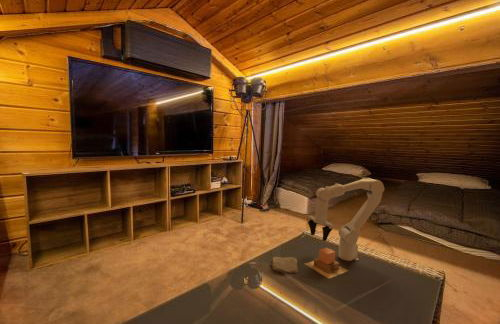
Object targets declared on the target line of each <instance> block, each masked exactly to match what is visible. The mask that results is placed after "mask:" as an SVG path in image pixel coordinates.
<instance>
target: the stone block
mask: <svg viewBox="0 0 500 324" xmlns="http://www.w3.org/2000/svg"><path fill="white" fill-rule="evenodd" d="M271 264H272V265H271V266H272V271H274V272H277V273H283V274H286V275H289V274H297V273H298V272H299V269H298V260H297V259H296V258H295V257H291V256H290V257H289V256H288V257H287V256H285V257H279V256H274V257H273V258H272V260H271Z"/></svg>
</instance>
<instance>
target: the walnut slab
mask: <svg viewBox="0 0 500 324" xmlns="http://www.w3.org/2000/svg"><path fill="white" fill-rule="evenodd" d="M313 261H314V266H316V267H317V268H319V269H321V270H322V271H324V272H326V273H327V274H328V273H330V272H333V271H336V270H338V269H339V266H340V262H339V261H336V260H335V262H334V263H331V264H328V265H327V264H325V263H323V262H322V261H320V260H319V257H317V258H314V259H313Z"/></svg>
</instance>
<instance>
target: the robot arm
mask: <svg viewBox="0 0 500 324" xmlns="http://www.w3.org/2000/svg"><path fill="white" fill-rule="evenodd" d="M360 189H362V190H364V191H365V192H366V195H367V199H366V201H364V203H363V204H362V206H360V208H359V209H358V211H357V212H356V213H355V215H354V216H353V218H352V219H351V221H349V222H348V223H345V224H344V225H343V226H342V227H340V228H339V229H338V235H339V238H340V239H339V244H338V255H337V256H338V258H339V259H341V260H343V261H348V262H350V261H353V260H354V261H359V258H358V252H359V251H358V250H359V246H358V243H357V242H358V239H359V237H360V235H361V231H360V229H361V228H362V227H363V226H364V224H365V223H366V222H367V220H368V219H369V217H370V216H371V215H372V214H373V213H374V211H375V210H376V208H377V207H378V206H379V205H380V203H381V201H382V197H383V193H384V192H385V186H384V183H383V182H382V181H381V180H379V179H373V178H371V177H367V178H361V179H358V180H355V181H353V182H349V183H346V184H341V183H334V185H331V186H330V185H329V186H327V185H326V186H325V188H324V187H320V188H318V189H317V190H316V191H315V196H316V205H315V213H314V216H313V215H308V216H307V217H308V218H307V220H308V221H307V223H308V227H309V230H310V236H314V235H315V234H316V229H317V226H318V224H319V225H321V226H323V227H321V229H322V241H323V242H326V241H327V240H328V238H329V235H330V233H331V232H332V231H333V229H334V223H331V222H329V220H327V218H328V208H329V200H331V199H333V198H337V197H339V196H343V195H344V194H346V192H350V191H355V190H360Z"/></svg>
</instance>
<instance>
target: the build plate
mask: <svg viewBox="0 0 500 324" xmlns="http://www.w3.org/2000/svg"><path fill="white" fill-rule="evenodd" d="M304 265H305V266H307V267H308V268H311V269H312V270H313V271H316V273H318V274H319V275H322V276H324V278H327V279H329V280H330V279H332V278H334V277H337V276H339V275H342V274H344V273H346V272H347V273H348V272H349V269H346V268H344V267H343V266H341V265H339V269H338V270H336V271H333V272H330V273H328V274H327V273H326V272H324V271H322V270H321V269H319V268H317V267H316V266H314V260H313V261H309V262H305V263H304Z"/></svg>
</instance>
